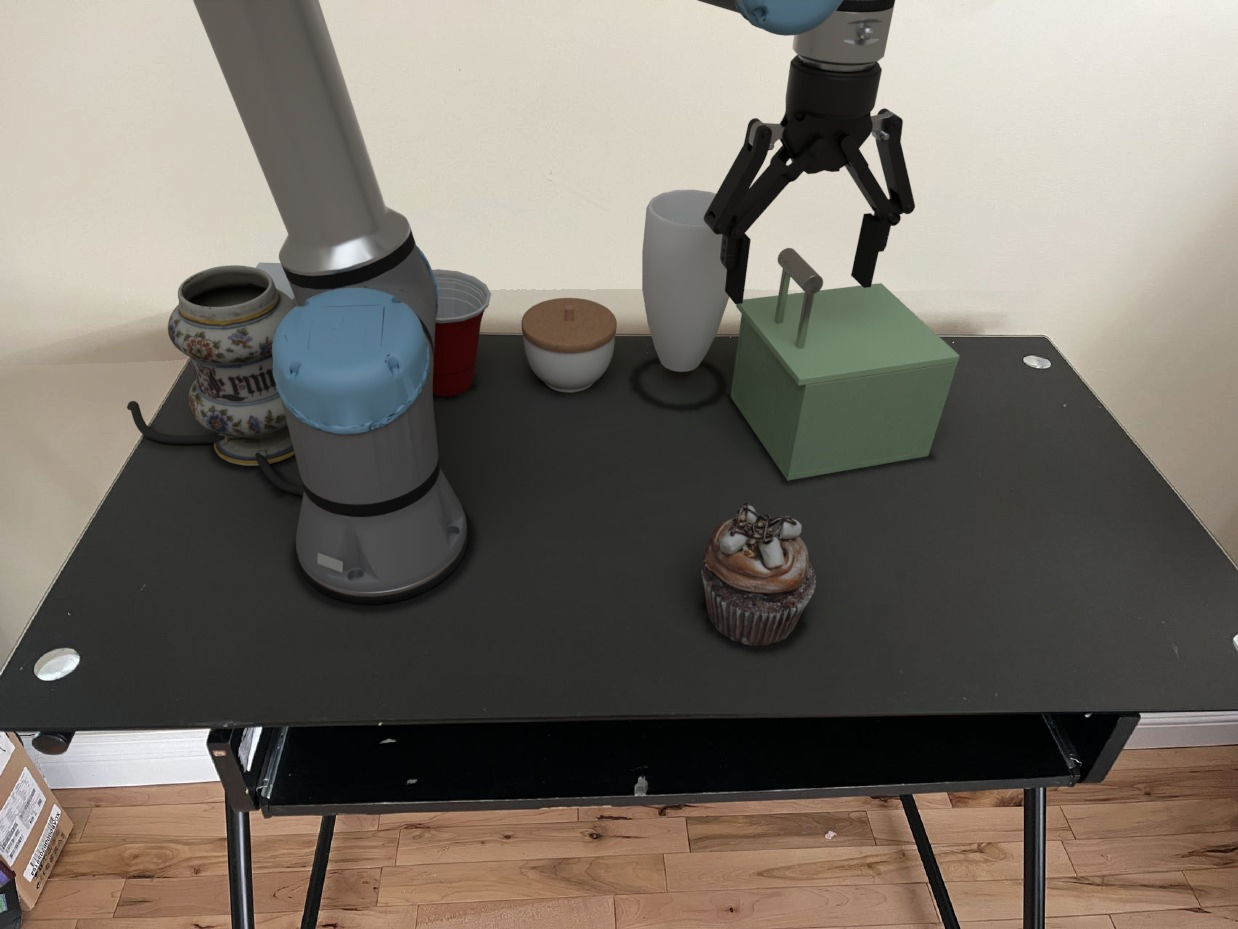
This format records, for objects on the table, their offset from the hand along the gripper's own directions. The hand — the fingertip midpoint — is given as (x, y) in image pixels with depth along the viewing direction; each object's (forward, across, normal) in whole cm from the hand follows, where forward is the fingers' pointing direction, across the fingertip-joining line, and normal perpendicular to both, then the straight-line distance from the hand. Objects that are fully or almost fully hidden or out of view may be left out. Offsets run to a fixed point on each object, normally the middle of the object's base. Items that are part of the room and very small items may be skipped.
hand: (798, 289), depth 88 cm
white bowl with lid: (+18, -19, +16) cm, 31 cm away
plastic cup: (+18, -33, +18) cm, 41 cm away
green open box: (+18, +6, 0) cm, 19 cm away
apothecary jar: (+17, -53, +13) cm, 57 cm away
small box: (+18, -50, +23) cm, 57 cm away
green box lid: (+6, +6, 0) cm, 8 cm away
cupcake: (+18, -13, -23) cm, 32 cm away
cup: (+18, -7, +12) cm, 23 cm away
